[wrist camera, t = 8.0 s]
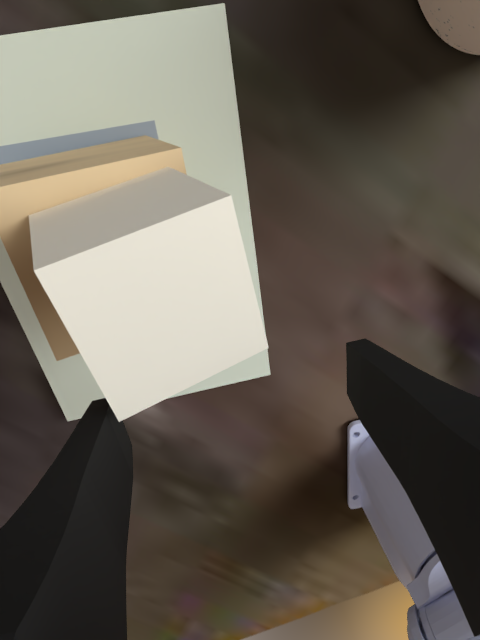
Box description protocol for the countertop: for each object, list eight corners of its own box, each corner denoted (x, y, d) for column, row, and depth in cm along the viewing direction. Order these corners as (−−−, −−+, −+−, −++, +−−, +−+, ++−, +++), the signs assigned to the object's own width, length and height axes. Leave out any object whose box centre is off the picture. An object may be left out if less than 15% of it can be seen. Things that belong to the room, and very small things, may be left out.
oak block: (176, 266, 21) (212, 307, 17) (49, 304, 19) (56, 361, 15) (145, 135, 18) (181, 147, 14) (-10, 166, 16) (-21, 191, 12)
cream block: (206, 285, 16) (268, 347, 12) (91, 335, 15) (119, 421, 11) (168, 166, 14) (231, 195, 10) (28, 215, 12) (33, 270, 8)
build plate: (268, 368, 26) (270, 374, 25) (69, 414, 25) (67, 421, 24) (222, 5, 16) (224, 2, 16) (-103, 52, 15) (-112, 51, 15)
